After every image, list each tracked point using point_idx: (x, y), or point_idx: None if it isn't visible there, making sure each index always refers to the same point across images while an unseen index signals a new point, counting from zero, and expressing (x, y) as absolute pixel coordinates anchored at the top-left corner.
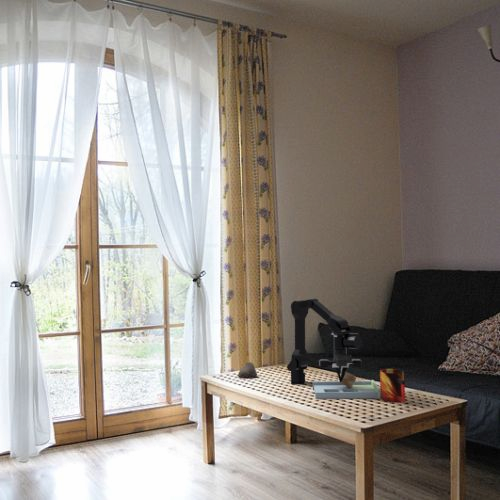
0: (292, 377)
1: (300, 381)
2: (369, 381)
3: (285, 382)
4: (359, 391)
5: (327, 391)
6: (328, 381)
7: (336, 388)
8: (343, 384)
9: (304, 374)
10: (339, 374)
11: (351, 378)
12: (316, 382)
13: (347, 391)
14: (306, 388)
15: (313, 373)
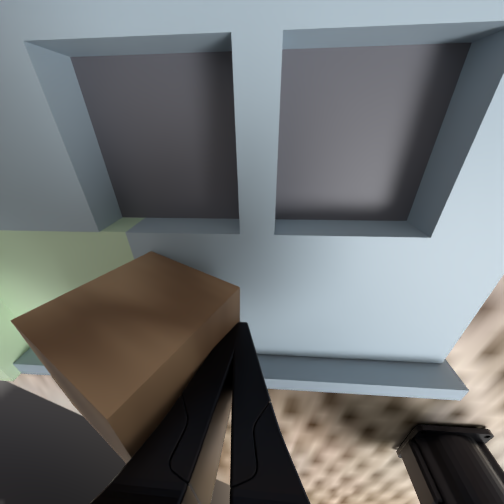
0: (500, 476)
1: (442, 442)
2: (25, 364)
3: (491, 449)
4: (33, 103)
5: (379, 228)
6: (330, 390)
7: (289, 261)
8: (214, 279)
9: (436, 494)
10: (244, 418)
11: (78, 324)
12: (434, 384)
13: (193, 224)
14: (452, 363)
15: (315, 498)
